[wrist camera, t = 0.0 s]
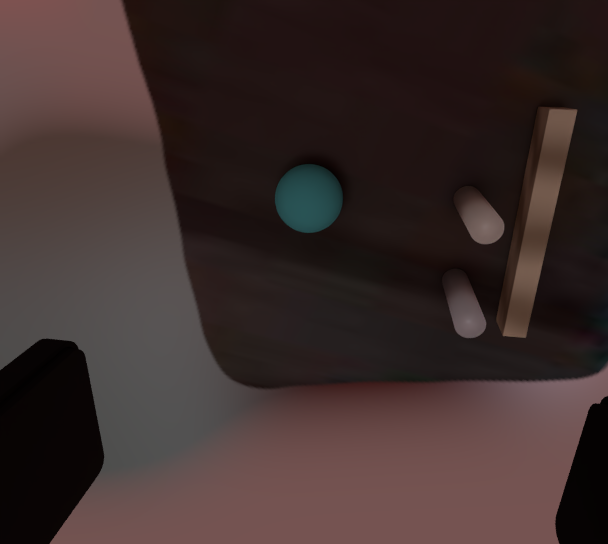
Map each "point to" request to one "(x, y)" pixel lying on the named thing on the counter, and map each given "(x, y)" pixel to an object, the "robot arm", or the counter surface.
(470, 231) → the cream pin
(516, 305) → the oak rail
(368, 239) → the counter surface
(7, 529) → the robot arm
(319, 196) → the ball
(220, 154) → the counter surface
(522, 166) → the counter surface
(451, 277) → the grey pin
